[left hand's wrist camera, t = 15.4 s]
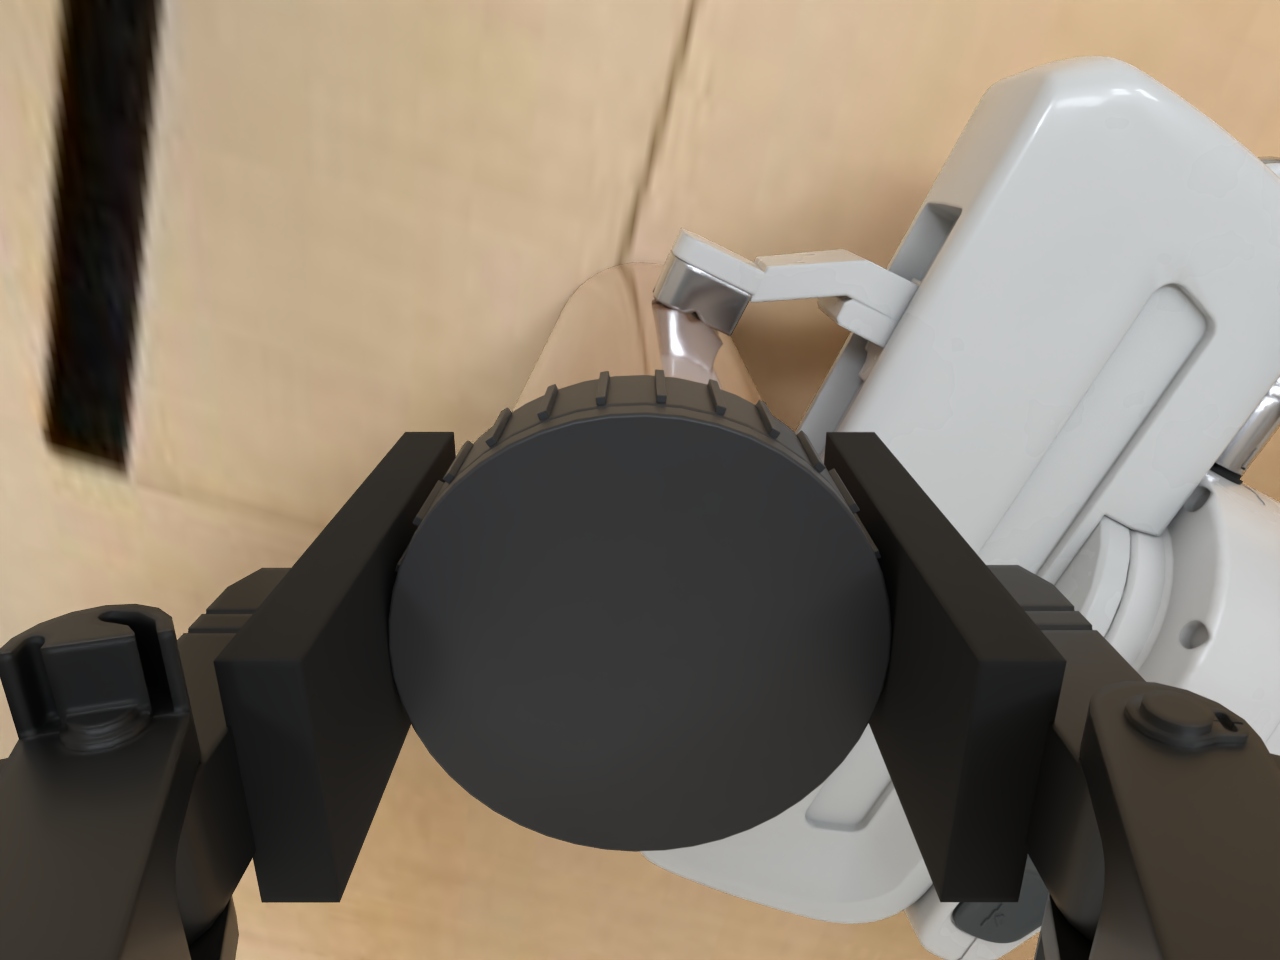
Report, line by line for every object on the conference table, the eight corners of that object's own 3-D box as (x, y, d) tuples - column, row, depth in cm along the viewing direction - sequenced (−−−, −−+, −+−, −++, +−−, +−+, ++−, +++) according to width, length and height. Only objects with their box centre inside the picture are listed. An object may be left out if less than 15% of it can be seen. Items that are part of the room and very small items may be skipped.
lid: (360, 682, 12) (317, 762, 11) (512, 288, 10) (487, 314, 9) (740, 818, 13) (755, 913, 11) (946, 479, 11) (999, 536, 9)
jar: (660, 225, 24) (692, 340, 9) (759, 369, 26) (925, 668, 11) (518, 331, 25) (343, 587, 10) (621, 464, 27) (598, 856, 12)
